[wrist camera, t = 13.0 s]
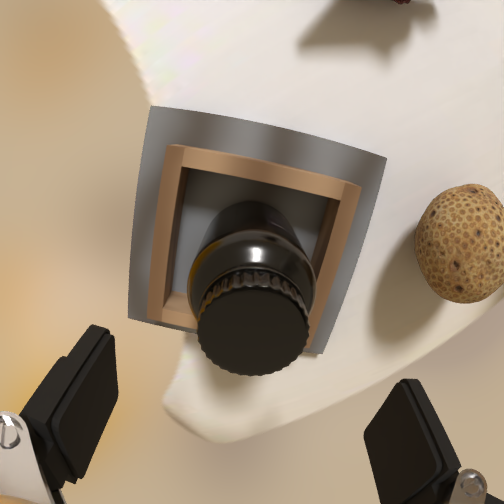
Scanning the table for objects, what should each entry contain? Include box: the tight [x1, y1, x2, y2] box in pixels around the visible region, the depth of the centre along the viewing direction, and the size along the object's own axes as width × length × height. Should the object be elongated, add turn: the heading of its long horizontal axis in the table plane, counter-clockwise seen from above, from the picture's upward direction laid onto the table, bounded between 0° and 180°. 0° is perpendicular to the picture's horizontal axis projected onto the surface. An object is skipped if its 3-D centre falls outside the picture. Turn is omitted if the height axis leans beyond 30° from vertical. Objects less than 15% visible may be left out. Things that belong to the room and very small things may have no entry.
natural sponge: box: [415, 184, 504, 303], centre depth 20 cm, size 9×9×10 cm
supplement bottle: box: [187, 201, 317, 376], centre depth 18 cm, size 7×7×12 cm
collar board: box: [128, 106, 387, 354], centre depth 23 cm, size 18×18×4 cm
